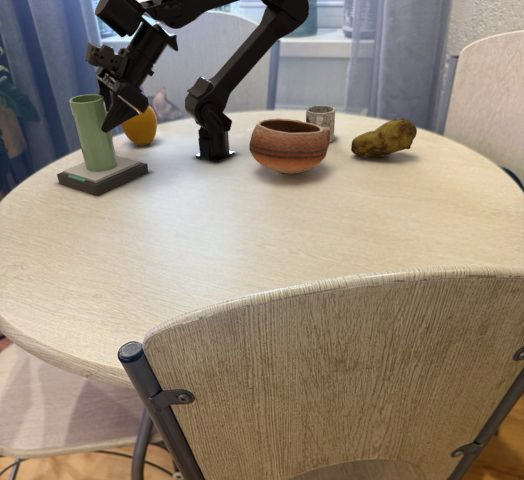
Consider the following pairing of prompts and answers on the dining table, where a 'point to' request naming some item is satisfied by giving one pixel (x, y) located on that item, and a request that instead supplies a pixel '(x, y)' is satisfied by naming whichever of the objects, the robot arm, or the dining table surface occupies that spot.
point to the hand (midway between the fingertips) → (97, 125)
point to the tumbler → (93, 132)
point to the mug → (322, 117)
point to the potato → (385, 139)
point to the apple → (141, 127)
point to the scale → (102, 176)
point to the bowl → (289, 144)
